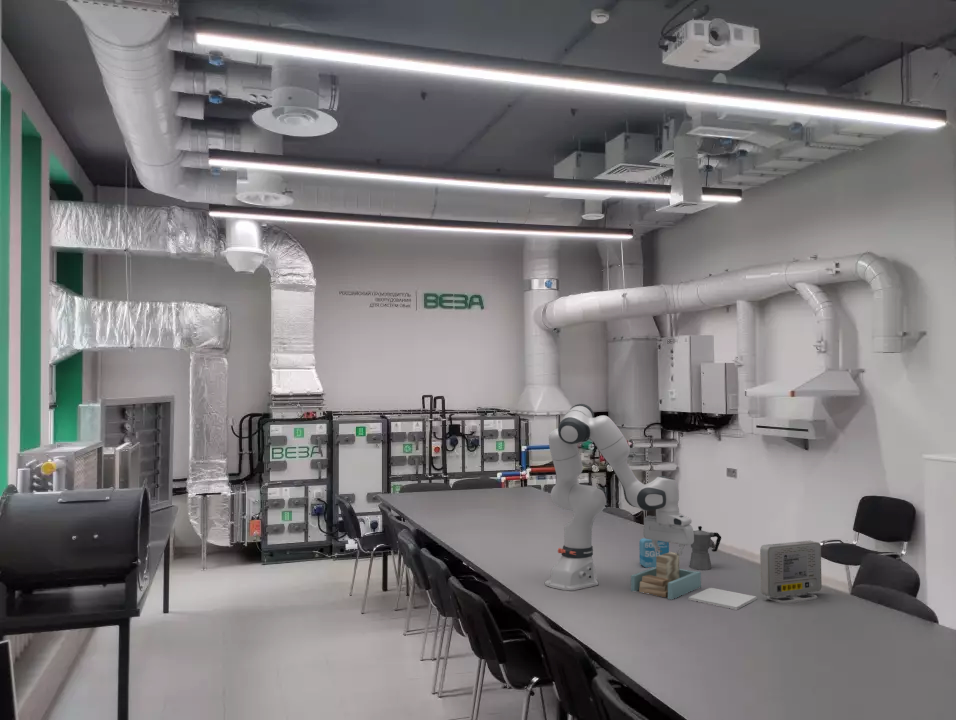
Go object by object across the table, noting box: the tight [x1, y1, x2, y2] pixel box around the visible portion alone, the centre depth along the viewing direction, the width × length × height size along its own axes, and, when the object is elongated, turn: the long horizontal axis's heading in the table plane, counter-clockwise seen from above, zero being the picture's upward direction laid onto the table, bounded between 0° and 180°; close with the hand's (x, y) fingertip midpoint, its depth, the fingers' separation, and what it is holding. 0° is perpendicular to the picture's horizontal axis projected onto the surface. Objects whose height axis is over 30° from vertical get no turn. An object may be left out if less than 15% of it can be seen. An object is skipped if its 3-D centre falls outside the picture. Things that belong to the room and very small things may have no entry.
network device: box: [759, 540, 823, 604], centre depth 268 cm, size 26×9×20 cm, turn 111°
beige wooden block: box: [656, 551, 680, 582], centre depth 280 cm, size 11×4×13 cm, turn 137°
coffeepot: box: [689, 525, 722, 571], centre depth 314 cm, size 15×9×18 cm, turn 72°
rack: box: [630, 567, 702, 601], centre depth 279 cm, size 24×17×6 cm
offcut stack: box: [638, 575, 669, 598], centre depth 273 cm, size 5×11×6 cm, turn 47°
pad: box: [688, 587, 757, 611], centre depth 265 cm, size 18×18×1 cm
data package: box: [638, 537, 670, 569], centre depth 316 cm, size 12×4×12 cm, turn 99°
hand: (668, 553), depth 280 cm, fingers open, 8 cm apart
